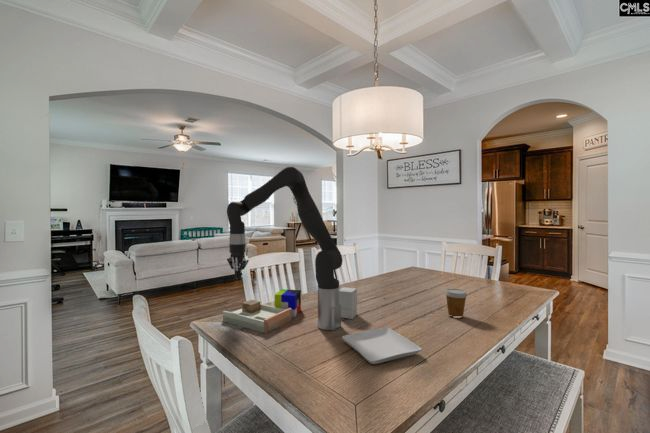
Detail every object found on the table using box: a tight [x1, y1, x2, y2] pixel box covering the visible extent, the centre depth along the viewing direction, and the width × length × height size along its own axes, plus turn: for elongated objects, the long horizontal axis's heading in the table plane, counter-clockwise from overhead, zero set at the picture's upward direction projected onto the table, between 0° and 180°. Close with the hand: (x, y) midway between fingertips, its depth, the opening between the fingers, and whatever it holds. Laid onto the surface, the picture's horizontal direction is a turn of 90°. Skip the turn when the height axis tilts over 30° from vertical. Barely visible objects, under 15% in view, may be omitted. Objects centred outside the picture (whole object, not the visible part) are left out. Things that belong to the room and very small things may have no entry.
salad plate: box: [341, 326, 422, 365], centre depth 110 cm, size 21×21×3 cm
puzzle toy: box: [274, 288, 302, 318], centre depth 150 cm, size 10×10×10 cm
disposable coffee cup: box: [445, 288, 468, 317], centre depth 144 cm, size 10×10×12 cm
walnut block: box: [241, 299, 261, 313], centre depth 145 cm, size 6×6×4 cm
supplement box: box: [339, 286, 358, 320], centre depth 145 cm, size 7×7×13 cm
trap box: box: [222, 303, 293, 334], centre depth 139 cm, size 26×17×6 cm, turn 59°
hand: (237, 278), depth 149 cm, fingers closed
